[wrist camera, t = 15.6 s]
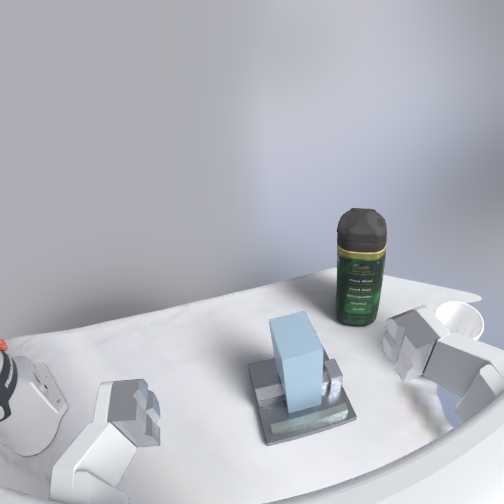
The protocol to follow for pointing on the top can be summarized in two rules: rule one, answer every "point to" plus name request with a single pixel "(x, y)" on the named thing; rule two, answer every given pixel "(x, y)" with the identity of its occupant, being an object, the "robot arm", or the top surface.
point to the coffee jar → (360, 265)
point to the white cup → (461, 319)
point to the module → (298, 360)
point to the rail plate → (303, 421)
